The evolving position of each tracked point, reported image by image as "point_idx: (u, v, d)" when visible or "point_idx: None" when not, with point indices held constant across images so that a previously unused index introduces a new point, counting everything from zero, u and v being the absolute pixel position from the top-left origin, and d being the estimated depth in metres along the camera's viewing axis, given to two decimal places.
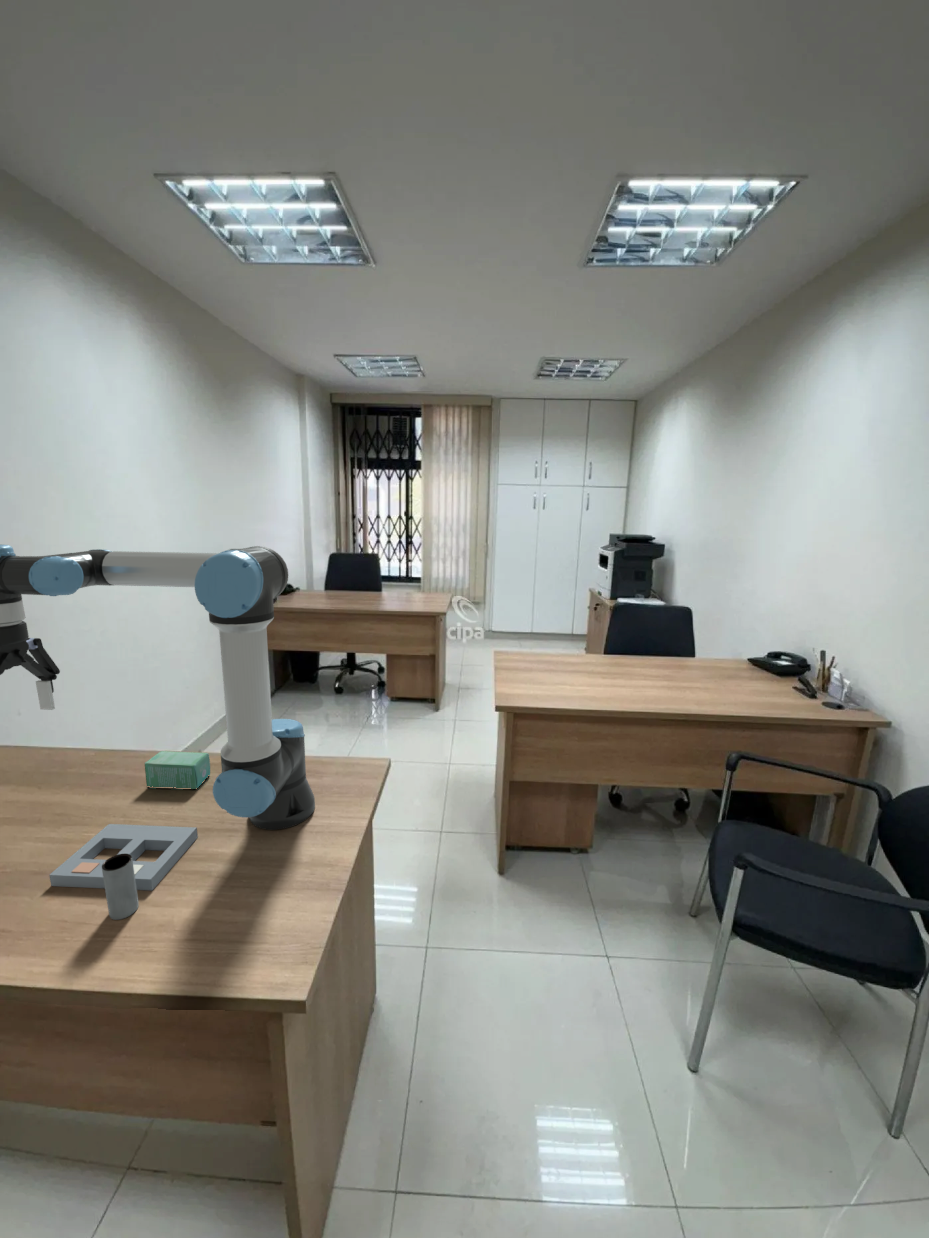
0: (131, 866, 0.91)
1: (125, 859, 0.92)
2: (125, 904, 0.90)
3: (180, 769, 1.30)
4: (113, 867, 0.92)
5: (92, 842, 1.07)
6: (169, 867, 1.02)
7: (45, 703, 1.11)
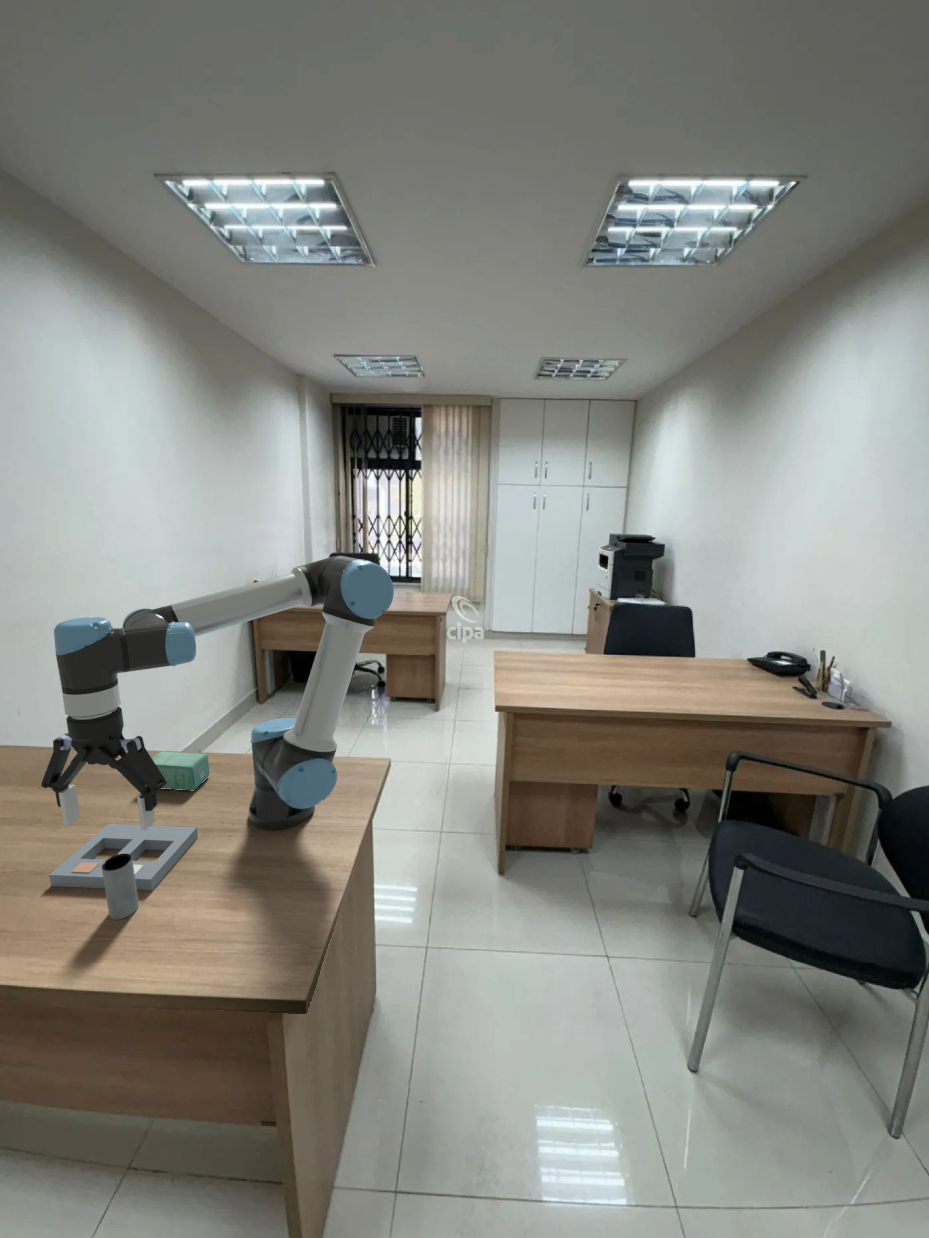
0: (131, 866, 0.91)
1: (125, 859, 0.92)
2: (125, 904, 0.90)
3: (178, 770, 1.29)
4: (113, 867, 0.92)
5: (92, 842, 1.07)
6: (169, 867, 1.02)
7: None
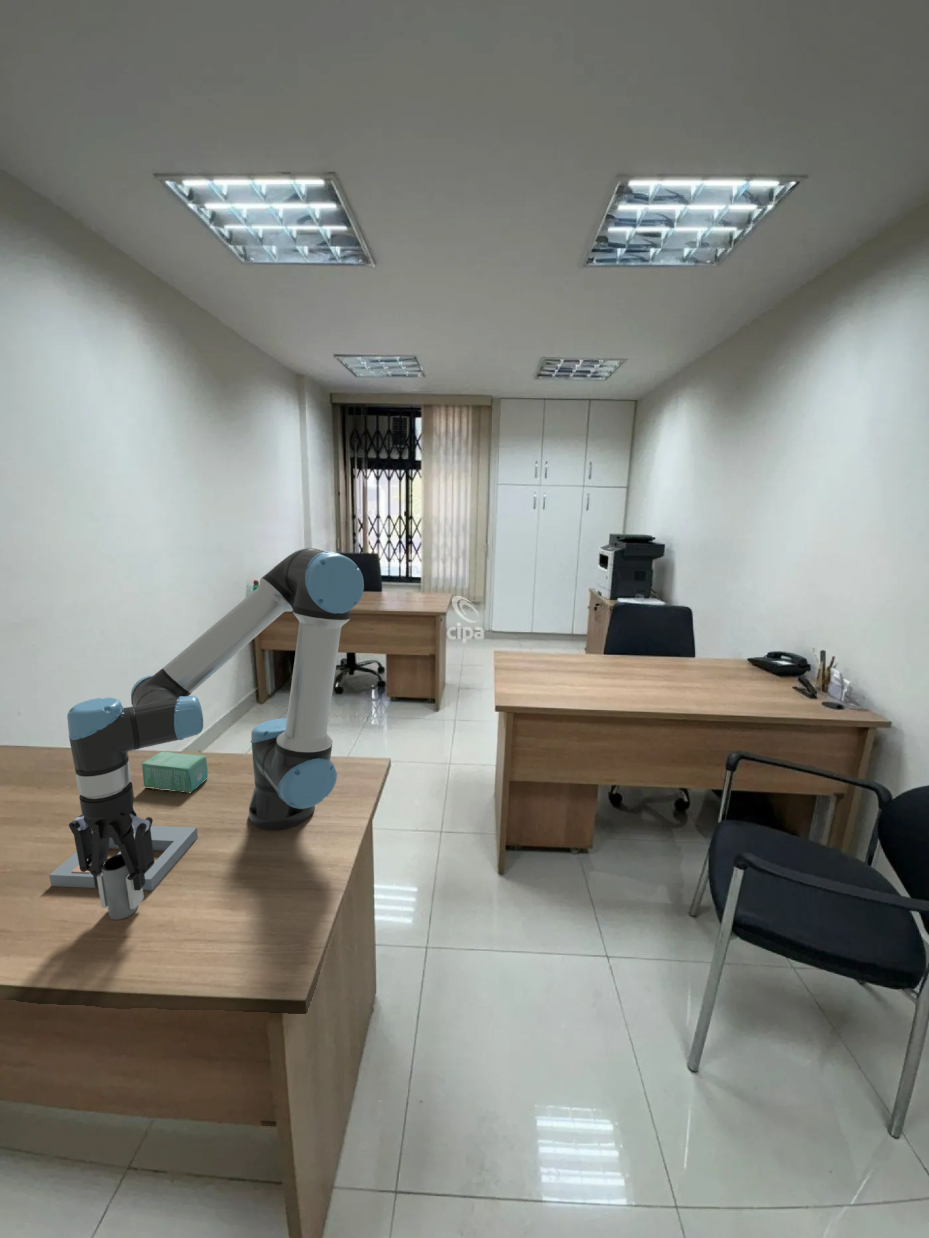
0: None
1: None
2: (125, 904, 0.90)
3: (175, 771, 1.29)
4: (113, 867, 0.92)
5: None
6: (169, 867, 1.02)
7: None
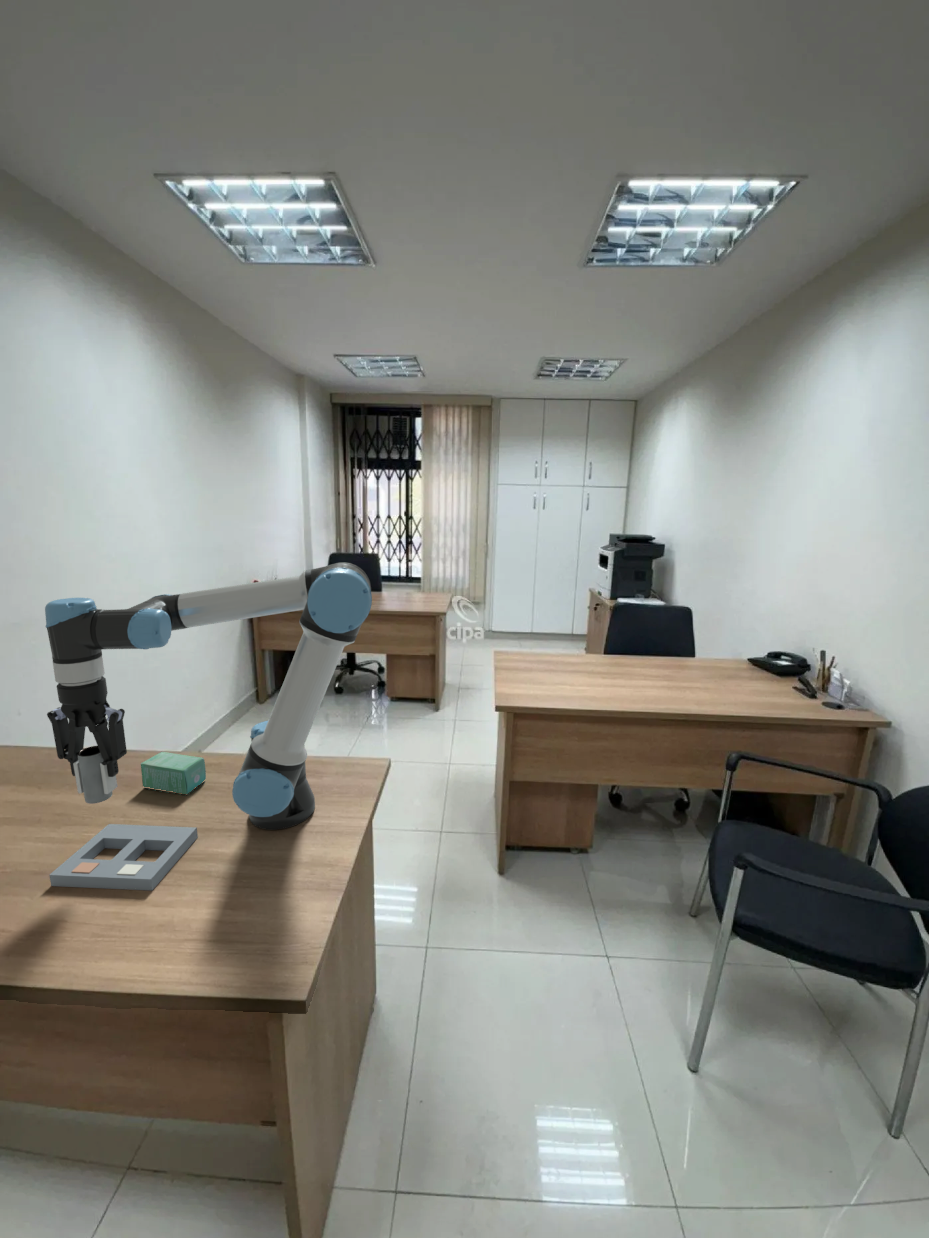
0: None
1: (99, 750, 1.01)
2: (100, 789, 0.99)
3: (171, 773, 1.28)
4: None
5: (92, 842, 1.07)
6: (169, 867, 1.02)
7: None
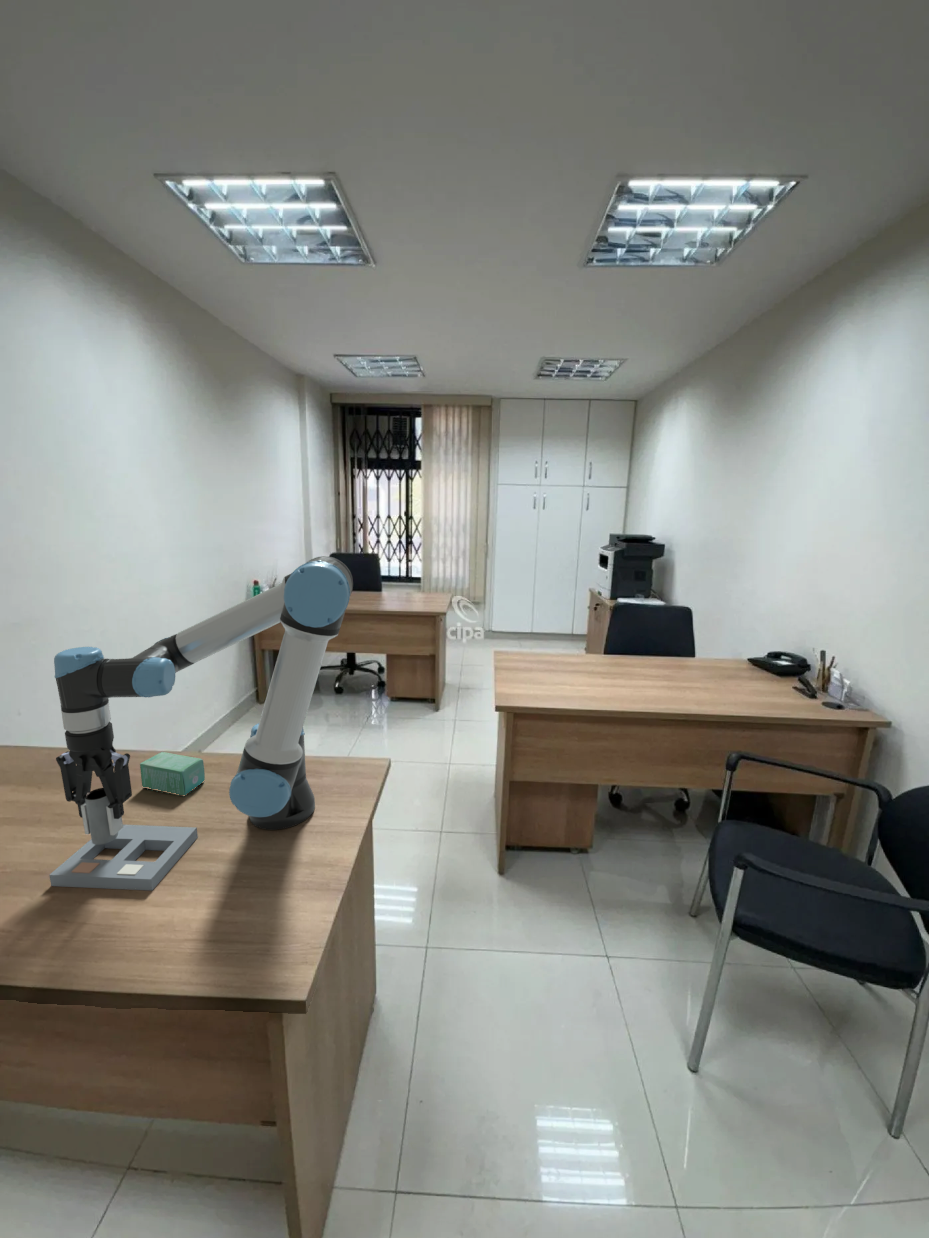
0: None
1: None
2: (106, 831, 1.02)
3: (170, 773, 1.28)
4: (95, 799, 1.03)
5: None
6: (169, 867, 1.02)
7: None
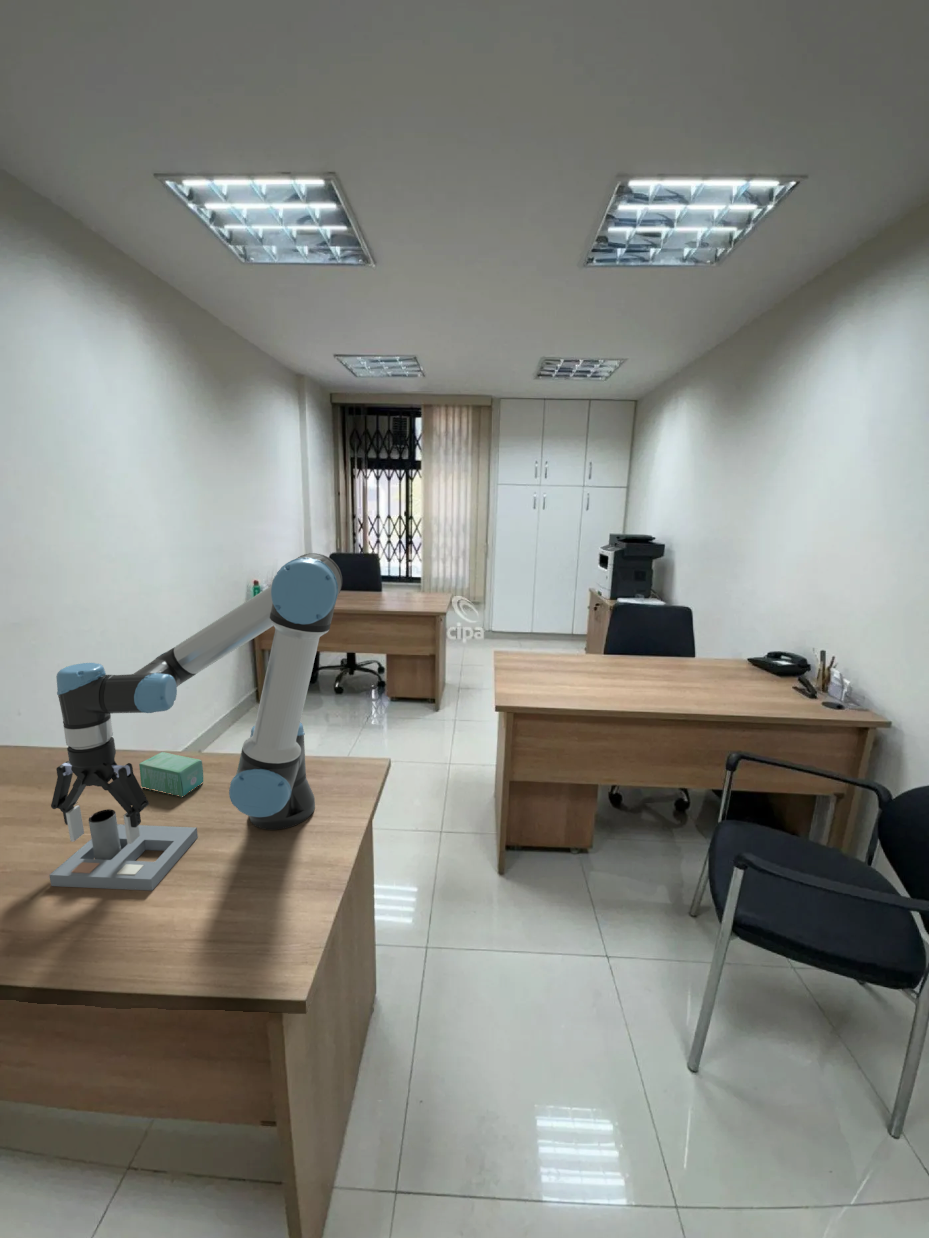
0: (115, 820, 1.04)
1: (109, 814, 1.05)
2: (109, 852, 1.03)
3: (168, 774, 1.27)
4: (99, 821, 1.05)
5: None
6: (169, 867, 1.02)
7: None
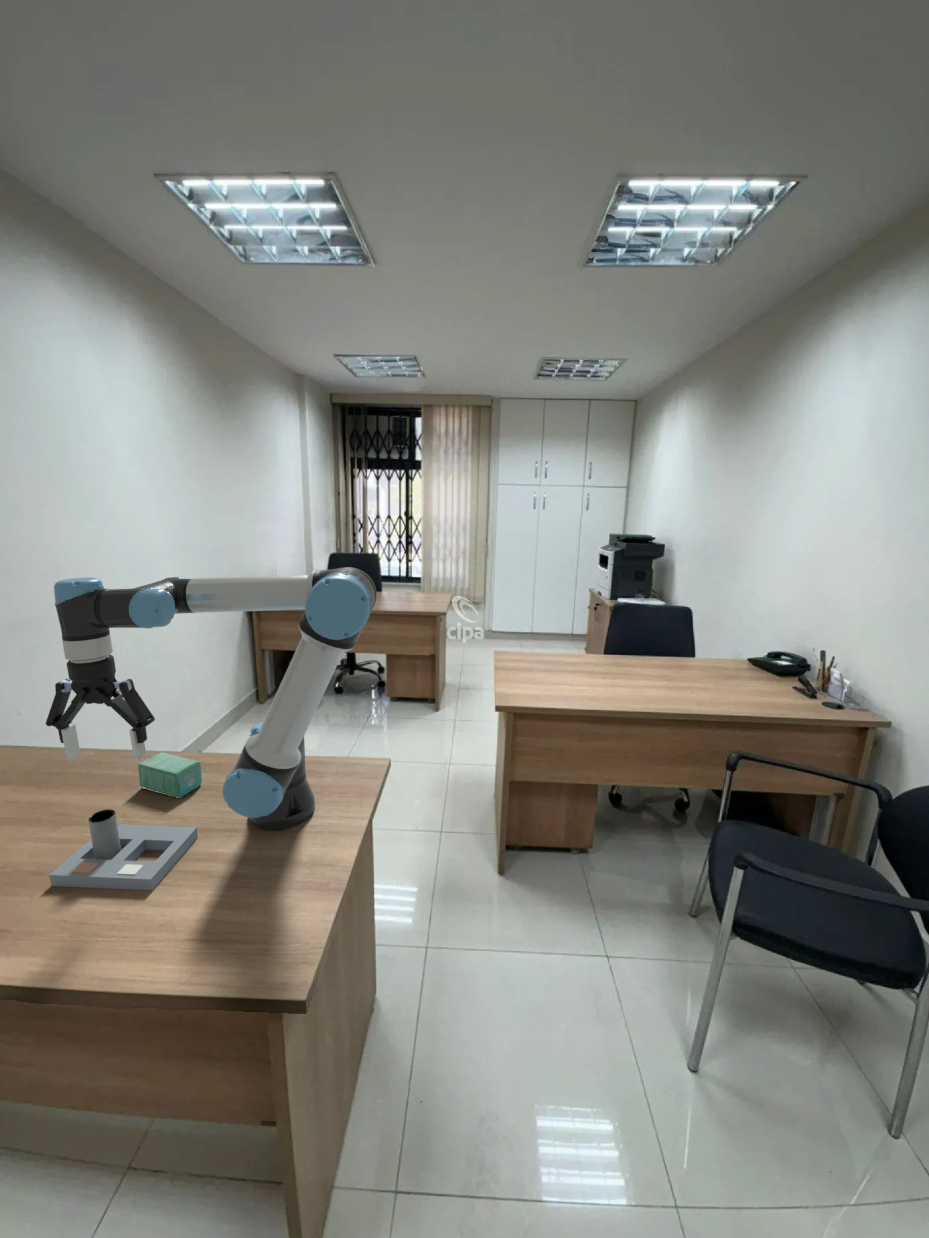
0: (115, 820, 1.04)
1: (109, 814, 1.05)
2: (109, 853, 1.03)
3: (165, 775, 1.27)
4: (99, 821, 1.05)
5: None
6: (169, 867, 1.02)
7: None
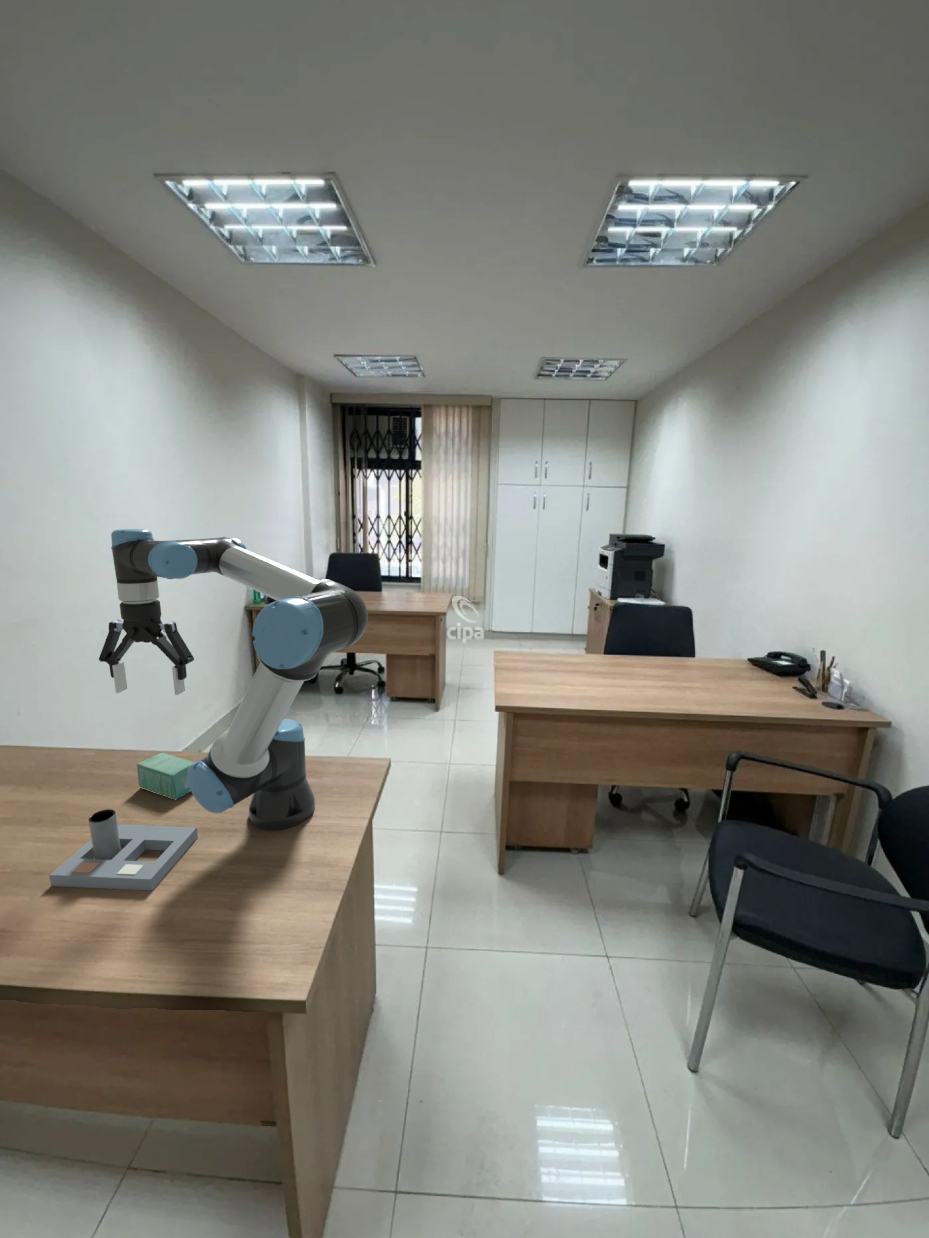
0: (115, 820, 1.04)
1: (109, 814, 1.05)
2: (109, 852, 1.03)
3: (162, 776, 1.26)
4: (99, 821, 1.05)
5: None
6: (169, 867, 1.02)
7: None
